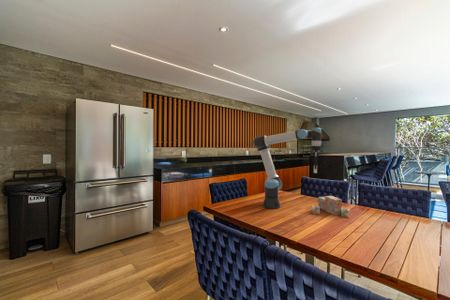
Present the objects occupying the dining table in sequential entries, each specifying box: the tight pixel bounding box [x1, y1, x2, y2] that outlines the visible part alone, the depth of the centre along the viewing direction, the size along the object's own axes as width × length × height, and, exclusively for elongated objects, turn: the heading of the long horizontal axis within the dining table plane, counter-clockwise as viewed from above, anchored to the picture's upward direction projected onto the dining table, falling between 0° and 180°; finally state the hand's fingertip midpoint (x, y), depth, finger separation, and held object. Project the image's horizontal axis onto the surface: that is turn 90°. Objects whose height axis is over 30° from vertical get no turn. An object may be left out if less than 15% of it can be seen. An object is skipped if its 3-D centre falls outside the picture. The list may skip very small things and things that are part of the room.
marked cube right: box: [340, 207, 350, 218], centre depth 165 cm, size 5×5×5 cm
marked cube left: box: [311, 205, 321, 215], centre depth 173 cm, size 5×5×5 cm
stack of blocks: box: [317, 195, 343, 216], centre depth 177 cm, size 21×6×12 cm, turn 10°
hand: (315, 172), depth 186 cm, fingers closed
